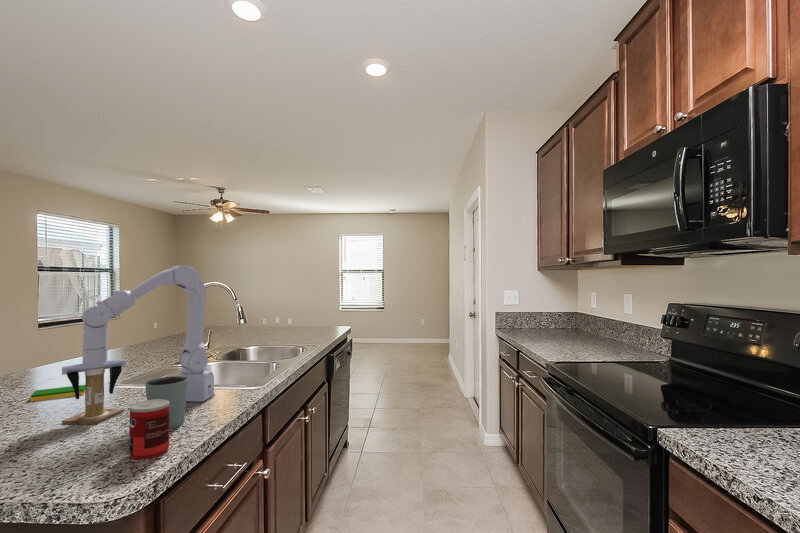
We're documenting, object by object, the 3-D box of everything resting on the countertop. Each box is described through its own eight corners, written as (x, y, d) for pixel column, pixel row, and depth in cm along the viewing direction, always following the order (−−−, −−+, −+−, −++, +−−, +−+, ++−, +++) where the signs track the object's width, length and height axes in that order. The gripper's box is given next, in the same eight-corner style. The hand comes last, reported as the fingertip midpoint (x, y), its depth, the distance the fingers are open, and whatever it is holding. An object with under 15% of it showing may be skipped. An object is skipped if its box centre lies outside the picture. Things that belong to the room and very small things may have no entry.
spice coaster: (124, 411, 120) (124, 408, 120) (97, 424, 110) (97, 421, 110) (91, 411, 120) (91, 408, 120) (61, 423, 110) (62, 420, 110)
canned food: (140, 445, 96) (141, 399, 96) (175, 444, 96) (176, 398, 97) (121, 460, 88) (121, 409, 88) (159, 459, 89) (159, 408, 89)
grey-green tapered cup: (142, 434, 103) (143, 387, 103) (146, 421, 112) (147, 378, 112) (187, 427, 108) (188, 382, 108) (187, 415, 116) (188, 374, 117)
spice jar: (104, 414, 114) (105, 367, 115) (84, 418, 112) (84, 369, 112) (104, 410, 118) (104, 364, 118) (84, 414, 115) (85, 366, 116)
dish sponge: (35, 397, 136) (35, 390, 136) (87, 391, 143) (87, 384, 143) (30, 403, 130) (30, 395, 130) (84, 396, 137) (84, 389, 137)
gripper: (123, 343, 123) (122, 388, 123) (61, 349, 113) (60, 397, 113) (127, 346, 118) (126, 393, 118) (62, 352, 108) (62, 403, 108)
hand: (94, 395), depth 115 cm, fingers open, 7 cm apart
